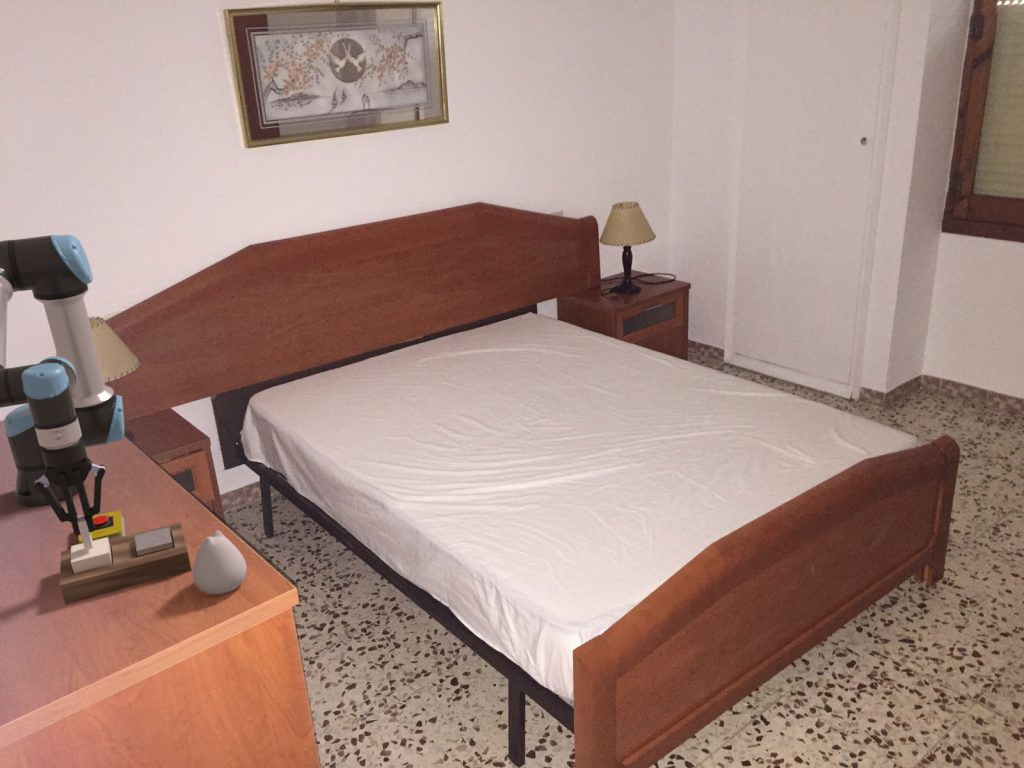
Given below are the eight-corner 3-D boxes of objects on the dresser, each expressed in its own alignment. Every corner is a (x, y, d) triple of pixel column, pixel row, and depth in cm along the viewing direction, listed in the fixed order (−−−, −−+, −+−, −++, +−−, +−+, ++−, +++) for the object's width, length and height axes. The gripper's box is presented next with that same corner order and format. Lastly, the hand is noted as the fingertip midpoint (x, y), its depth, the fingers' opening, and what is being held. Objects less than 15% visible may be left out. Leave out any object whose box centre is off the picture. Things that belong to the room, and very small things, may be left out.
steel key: (137, 549, 179) (134, 535, 178) (172, 540, 182) (169, 527, 180) (139, 565, 173) (136, 551, 172) (175, 555, 176) (172, 541, 174)
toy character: (219, 566, 175) (209, 517, 171) (259, 576, 171) (250, 525, 167) (184, 594, 166) (172, 542, 162) (225, 604, 163) (215, 552, 158)
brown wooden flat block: (66, 569, 177) (60, 551, 175) (184, 539, 186) (180, 522, 185) (65, 604, 165) (59, 585, 163) (191, 570, 175) (187, 551, 173)
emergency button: (120, 502, 196) (122, 531, 184) (124, 518, 198) (126, 548, 185) (76, 512, 193) (76, 542, 180) (81, 528, 194) (80, 559, 181)
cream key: (74, 560, 174) (71, 546, 172) (111, 550, 176) (107, 537, 175) (74, 576, 168) (70, 562, 166) (112, 567, 170) (108, 552, 169)
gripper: (22, 456, 156) (53, 564, 165) (98, 441, 161) (124, 546, 170) (24, 442, 163) (54, 546, 171) (97, 428, 168) (122, 529, 176)
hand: (88, 546), depth 170 cm, fingers closed
